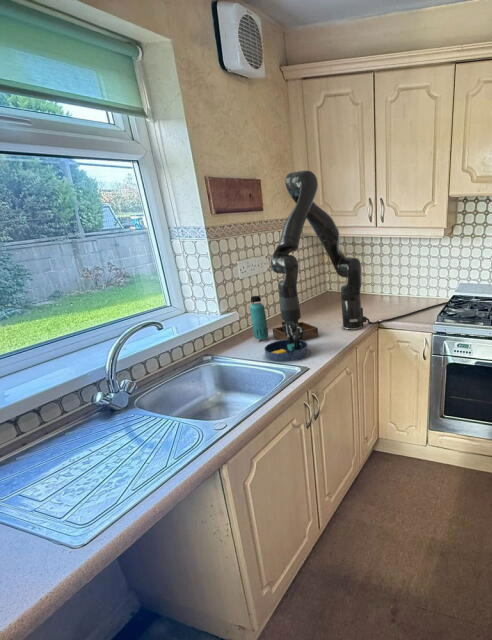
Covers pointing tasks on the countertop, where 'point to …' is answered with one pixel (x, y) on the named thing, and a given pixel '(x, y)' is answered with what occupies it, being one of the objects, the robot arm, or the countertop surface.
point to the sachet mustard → (280, 351)
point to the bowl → (290, 354)
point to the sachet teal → (292, 348)
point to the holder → (308, 332)
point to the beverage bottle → (258, 319)
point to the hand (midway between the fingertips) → (294, 347)
